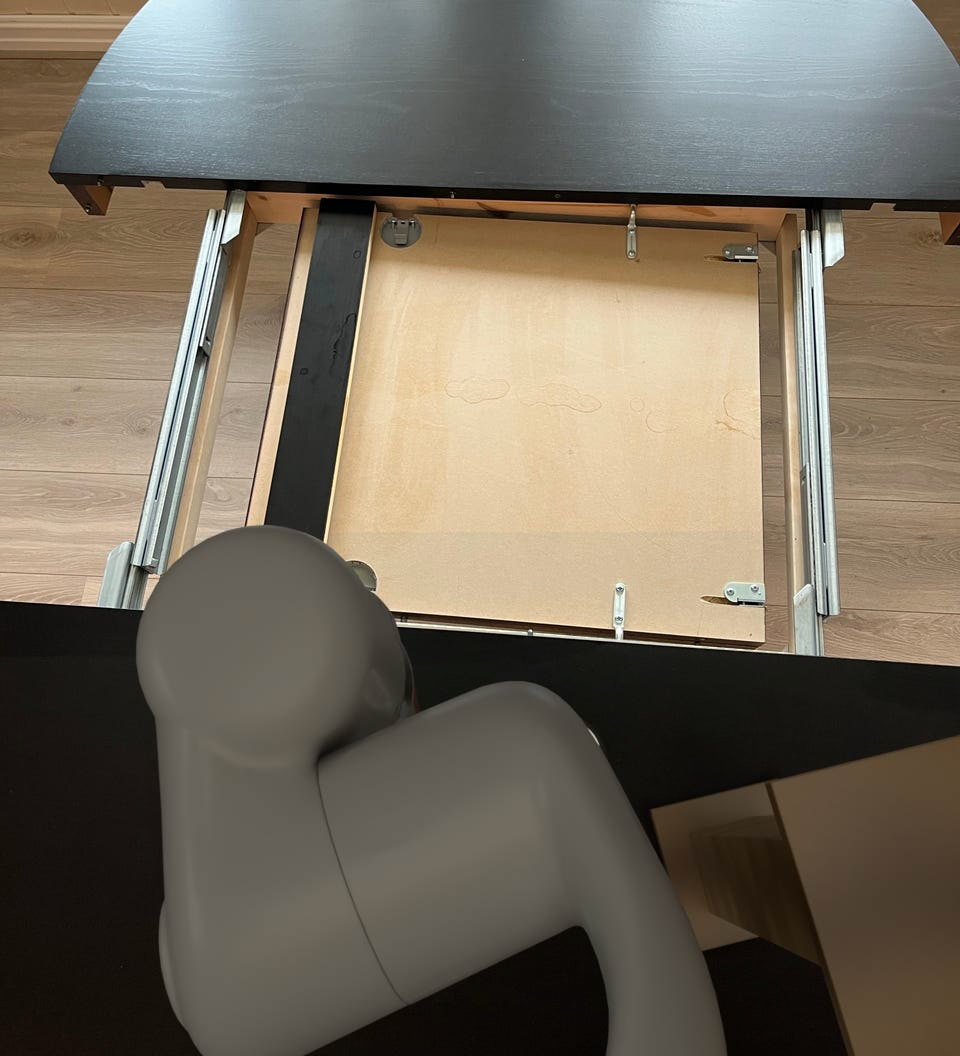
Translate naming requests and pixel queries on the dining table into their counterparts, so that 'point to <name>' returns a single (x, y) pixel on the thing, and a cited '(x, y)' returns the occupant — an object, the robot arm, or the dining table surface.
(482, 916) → the robot arm
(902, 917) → the pedestal
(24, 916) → the dining table surface
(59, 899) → the dining table surface
